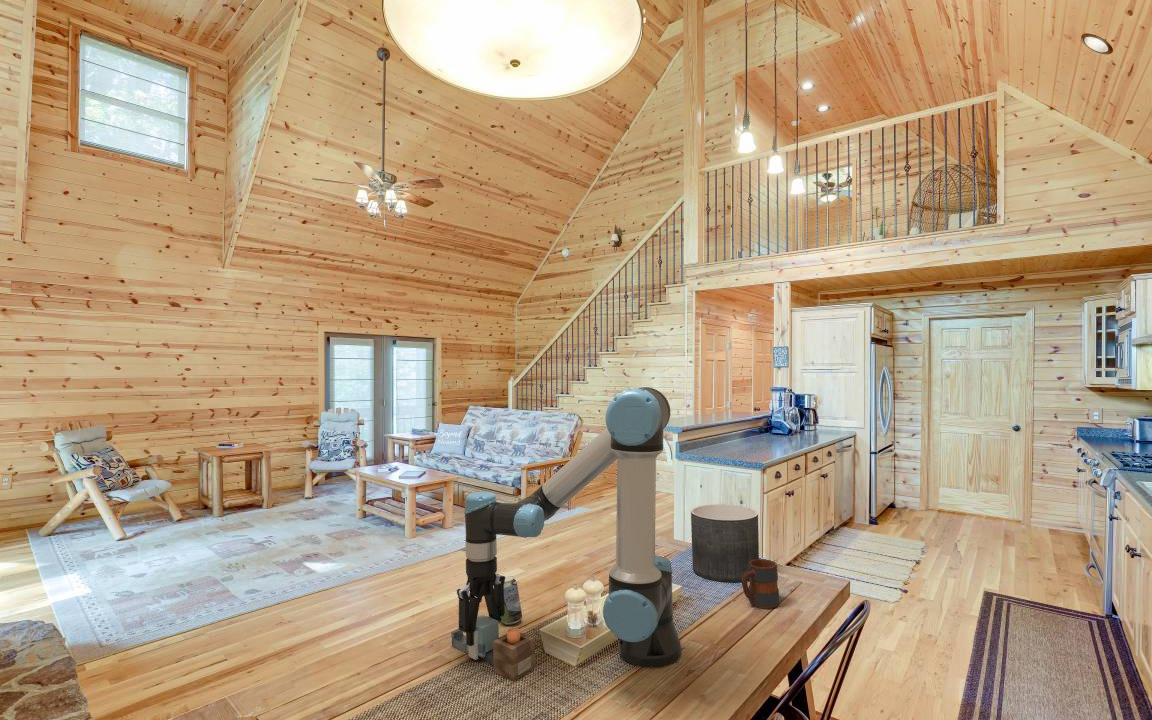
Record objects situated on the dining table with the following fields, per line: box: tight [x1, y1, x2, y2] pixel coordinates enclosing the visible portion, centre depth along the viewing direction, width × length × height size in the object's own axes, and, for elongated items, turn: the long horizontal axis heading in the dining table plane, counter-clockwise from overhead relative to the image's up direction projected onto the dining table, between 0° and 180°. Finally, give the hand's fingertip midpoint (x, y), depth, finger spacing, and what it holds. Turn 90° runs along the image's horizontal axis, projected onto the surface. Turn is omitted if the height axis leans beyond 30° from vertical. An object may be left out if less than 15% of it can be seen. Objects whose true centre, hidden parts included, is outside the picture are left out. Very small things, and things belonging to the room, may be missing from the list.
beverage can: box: [499, 575, 523, 625], centre depth 159 cm, size 6×7×12 cm
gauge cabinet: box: [492, 632, 536, 682], centre depth 133 cm, size 7×7×7 cm
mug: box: [741, 558, 780, 610], centre depth 166 cm, size 9×12×12 cm
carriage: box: [466, 614, 500, 657], centre depth 140 cm, size 6×5×7 cm
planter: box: [690, 503, 760, 583], centre depth 195 cm, size 22×22×20 cm
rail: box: [450, 628, 493, 666], centre depth 141 cm, size 18×3×4 cm, turn 50°
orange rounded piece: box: [506, 627, 521, 646], centre depth 133 cm, size 3×3×4 cm
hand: (482, 652), depth 140 cm, fingers closed on carriage, 5 cm apart
